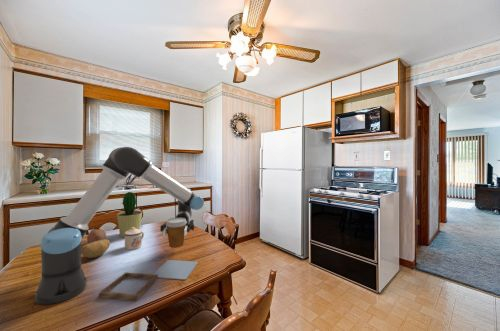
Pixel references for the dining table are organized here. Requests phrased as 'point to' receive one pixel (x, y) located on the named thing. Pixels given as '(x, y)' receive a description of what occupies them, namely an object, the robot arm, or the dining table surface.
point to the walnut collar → (131, 297)
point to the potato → (95, 248)
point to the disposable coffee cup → (176, 231)
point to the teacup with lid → (133, 238)
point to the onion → (96, 235)
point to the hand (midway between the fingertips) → (174, 233)
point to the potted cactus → (129, 214)
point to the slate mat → (176, 269)
